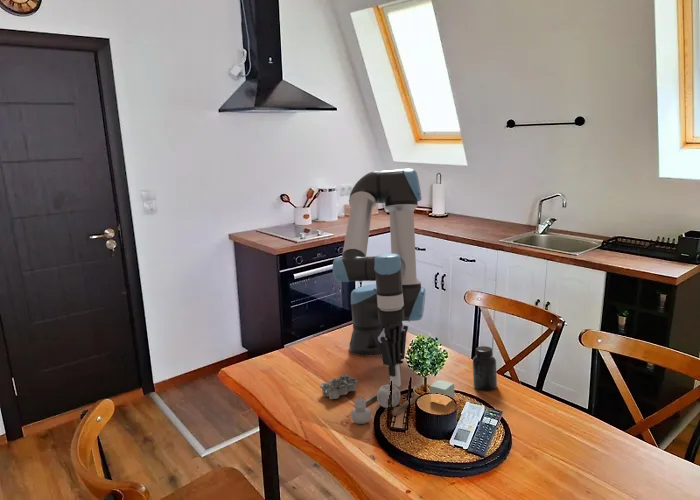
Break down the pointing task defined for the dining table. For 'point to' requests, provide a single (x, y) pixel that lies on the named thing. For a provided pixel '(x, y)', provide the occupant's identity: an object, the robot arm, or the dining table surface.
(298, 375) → the dining table surface
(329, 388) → the egg carton
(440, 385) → the sage block
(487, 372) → the supplement bottle
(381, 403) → the die
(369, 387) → the dining table surface
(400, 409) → the rails
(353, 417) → the grey rounded piece
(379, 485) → the dining table surface
